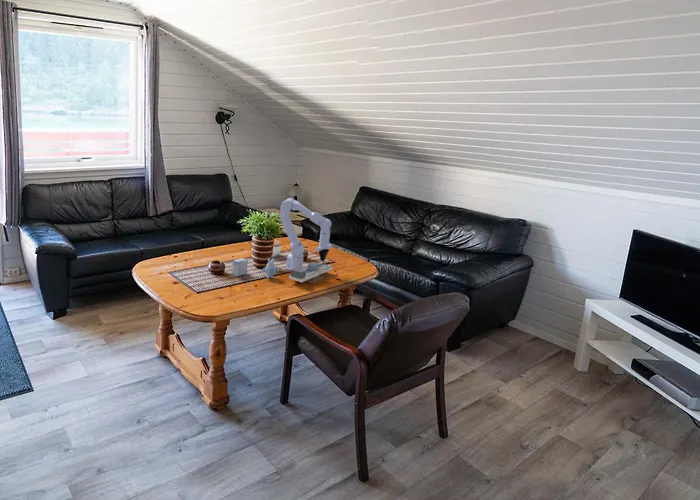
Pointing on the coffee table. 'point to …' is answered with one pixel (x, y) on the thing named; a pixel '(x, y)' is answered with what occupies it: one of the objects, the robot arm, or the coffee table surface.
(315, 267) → the rider
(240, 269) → the medicine box
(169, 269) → the coffee table surface
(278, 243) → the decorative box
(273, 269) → the toy figure
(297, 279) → the balance beam
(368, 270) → the coffee table surface
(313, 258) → the coffee table surface
